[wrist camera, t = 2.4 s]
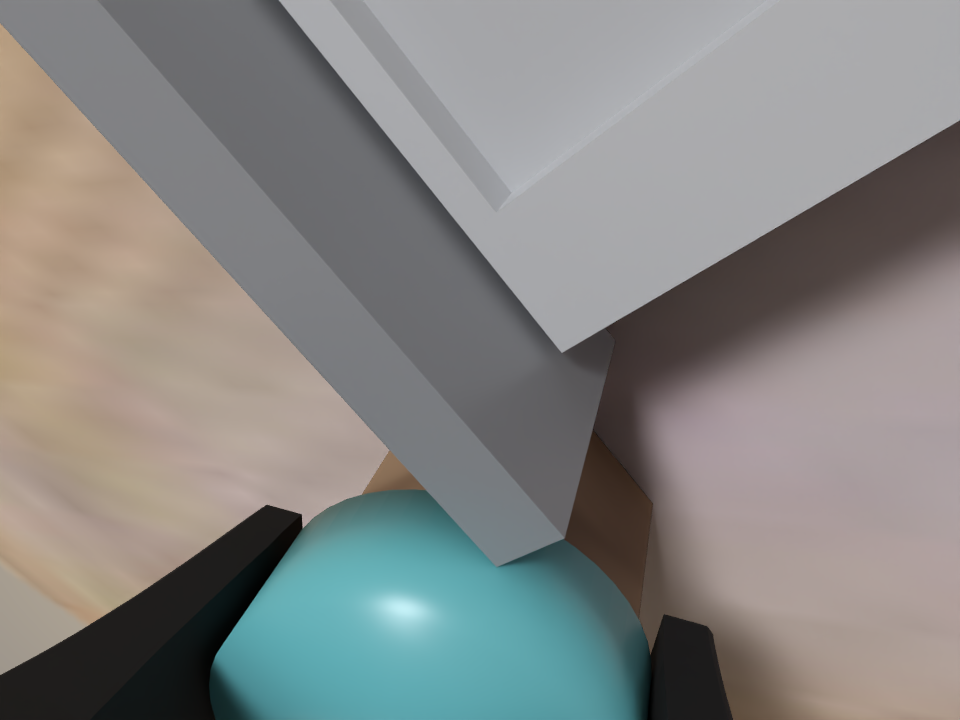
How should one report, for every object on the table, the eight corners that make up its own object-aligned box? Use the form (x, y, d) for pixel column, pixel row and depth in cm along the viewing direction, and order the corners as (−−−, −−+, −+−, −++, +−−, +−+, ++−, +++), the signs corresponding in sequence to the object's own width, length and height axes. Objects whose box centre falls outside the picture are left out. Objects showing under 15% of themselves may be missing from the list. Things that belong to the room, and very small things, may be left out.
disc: (732, 718, 10) (734, 877, 9) (444, 784, 13) (402, 913, 11) (477, 423, 9) (417, 542, 7) (218, 569, 12) (133, 678, 10)
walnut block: (652, 504, 14) (630, 687, 10) (506, 564, 16) (449, 738, 12) (534, 358, 13) (469, 509, 10) (394, 441, 15) (300, 591, 11)
